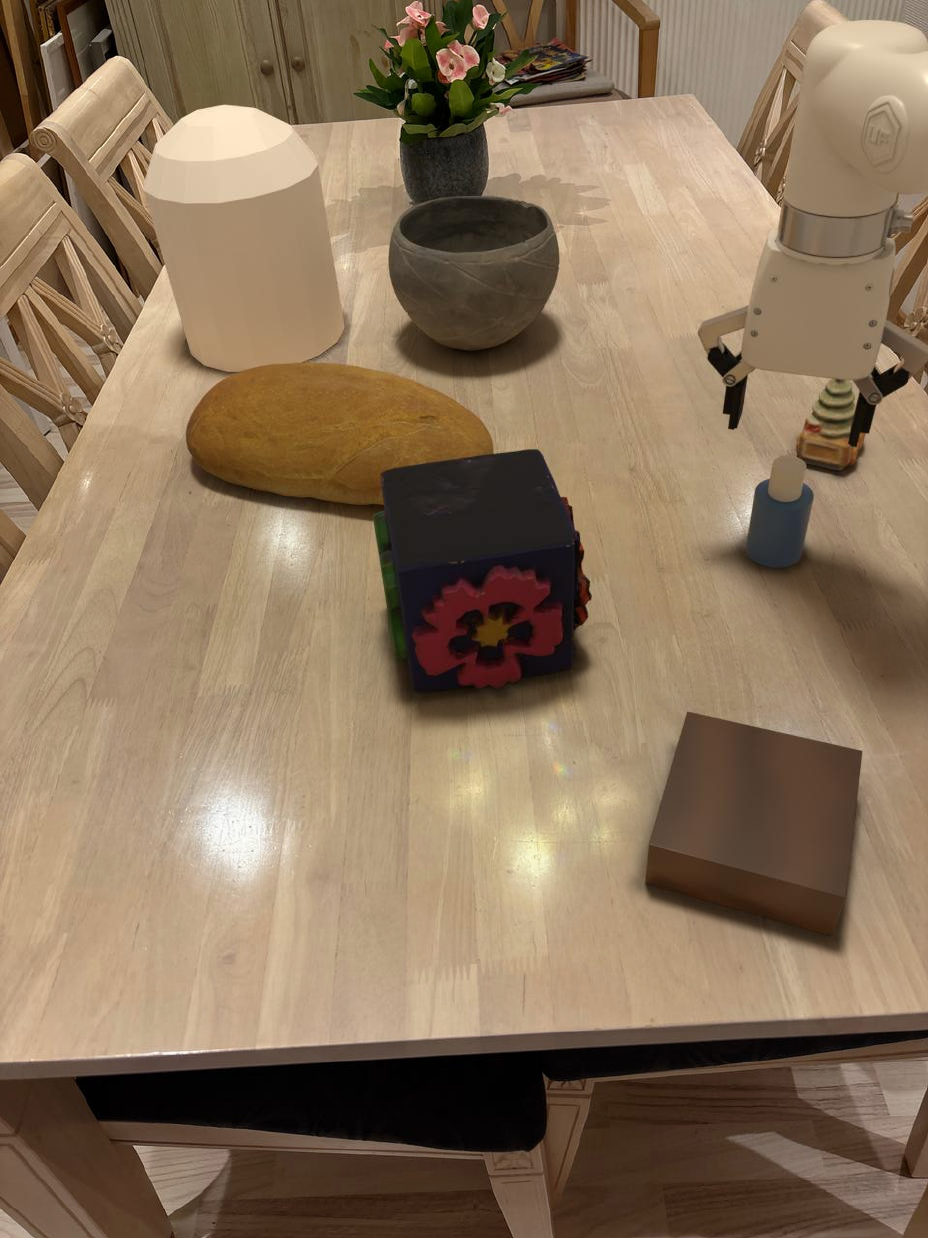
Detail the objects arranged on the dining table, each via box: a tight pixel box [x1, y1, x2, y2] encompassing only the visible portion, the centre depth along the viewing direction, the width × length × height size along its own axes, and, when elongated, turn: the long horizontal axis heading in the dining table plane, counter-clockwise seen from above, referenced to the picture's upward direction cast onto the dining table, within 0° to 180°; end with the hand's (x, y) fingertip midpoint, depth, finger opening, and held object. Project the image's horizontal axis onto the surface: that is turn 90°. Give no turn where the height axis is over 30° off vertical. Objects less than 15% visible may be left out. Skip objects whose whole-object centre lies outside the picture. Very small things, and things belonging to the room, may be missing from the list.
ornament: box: [795, 378, 867, 471], centre depth 97 cm, size 8×6×10 cm
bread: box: [185, 361, 495, 506], centre depth 103 cm, size 18×35×10 cm, turn 70°
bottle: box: [745, 455, 815, 569], centre depth 86 cm, size 5×5×10 cm
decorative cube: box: [372, 448, 593, 693], centre depth 80 cm, size 16×16×14 cm
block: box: [644, 711, 863, 937], centre depth 66 cm, size 12×12×4 cm
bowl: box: [388, 195, 560, 352], centre depth 120 cm, size 21×21×15 cm
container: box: [143, 104, 346, 373], centre depth 121 cm, size 21×21×28 cm
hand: (793, 429), depth 81 cm, fingers open, 9 cm apart
